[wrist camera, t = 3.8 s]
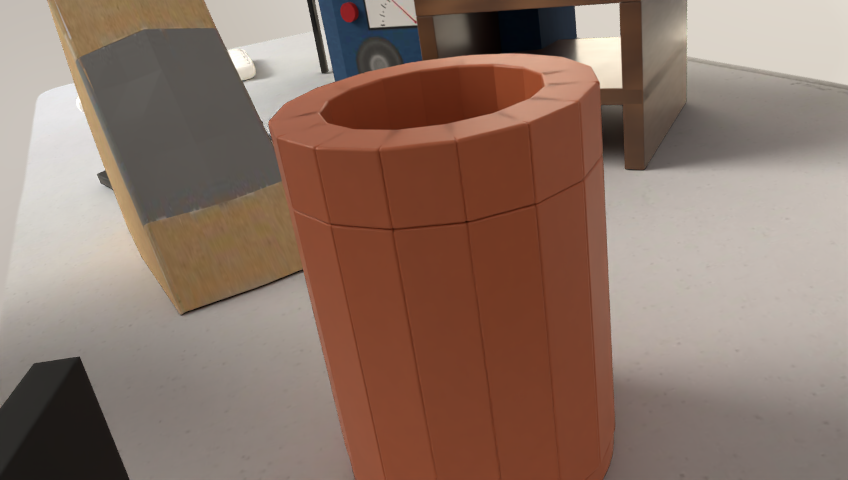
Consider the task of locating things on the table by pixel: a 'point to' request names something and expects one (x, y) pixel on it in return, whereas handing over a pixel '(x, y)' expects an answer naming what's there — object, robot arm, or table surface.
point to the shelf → (587, 56)
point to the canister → (458, 265)
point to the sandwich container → (180, 145)
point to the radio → (399, 39)
